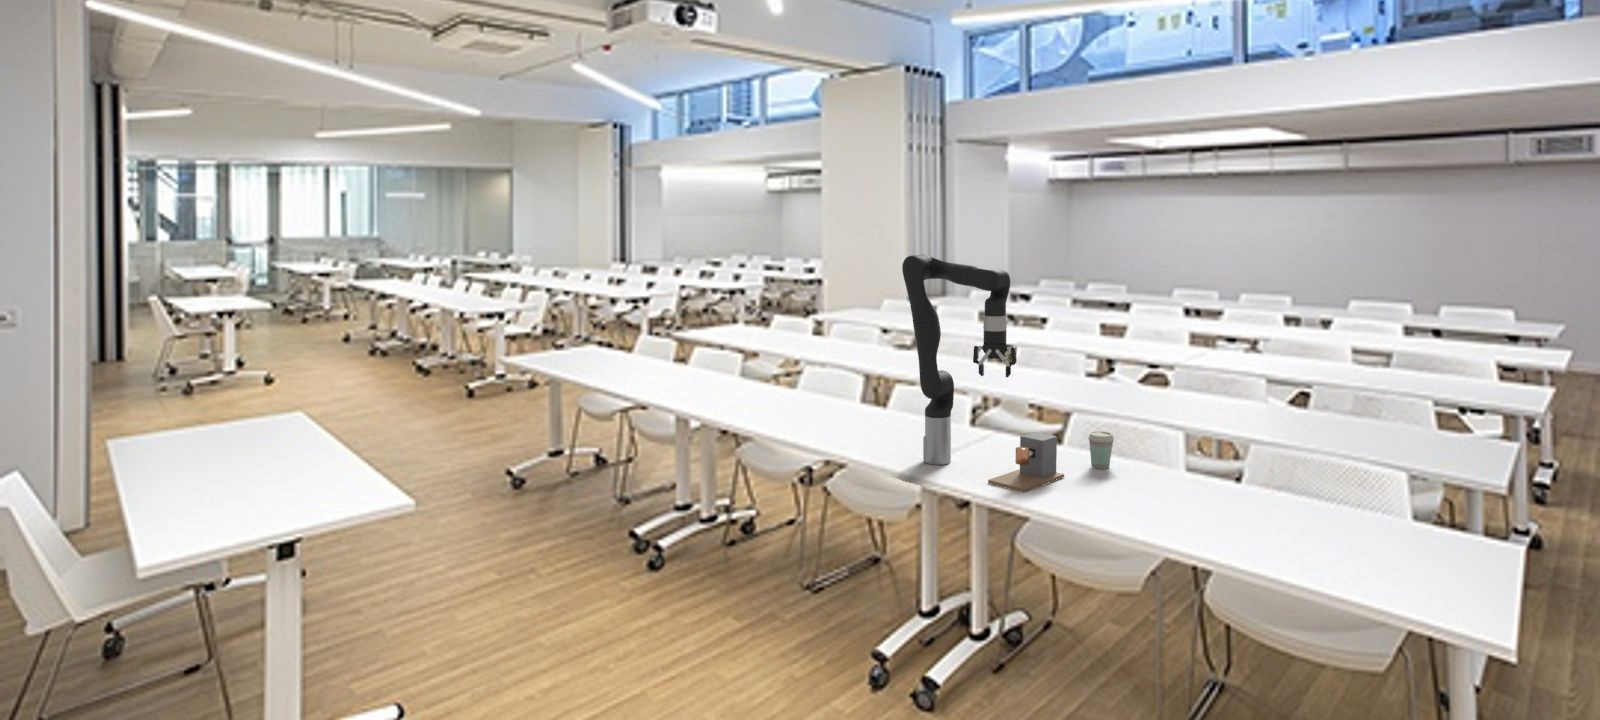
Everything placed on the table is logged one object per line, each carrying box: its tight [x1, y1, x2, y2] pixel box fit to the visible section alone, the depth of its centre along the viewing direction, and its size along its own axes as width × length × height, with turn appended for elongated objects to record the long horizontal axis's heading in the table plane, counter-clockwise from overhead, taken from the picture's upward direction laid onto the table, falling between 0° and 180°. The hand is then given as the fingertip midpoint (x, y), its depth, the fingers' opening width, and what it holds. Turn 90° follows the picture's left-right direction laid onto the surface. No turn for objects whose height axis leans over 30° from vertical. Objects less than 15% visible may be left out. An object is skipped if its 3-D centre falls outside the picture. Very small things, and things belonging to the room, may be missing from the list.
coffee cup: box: [1088, 430, 1115, 470], centre depth 316 cm, size 8×9×12 cm
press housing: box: [987, 431, 1065, 493], centre depth 302 cm, size 23×14×14 cm, turn 130°
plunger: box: [1015, 446, 1035, 466], centre depth 304 cm, size 14×4×5 cm, turn 130°
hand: (994, 376), depth 307 cm, fingers open, 8 cm apart
